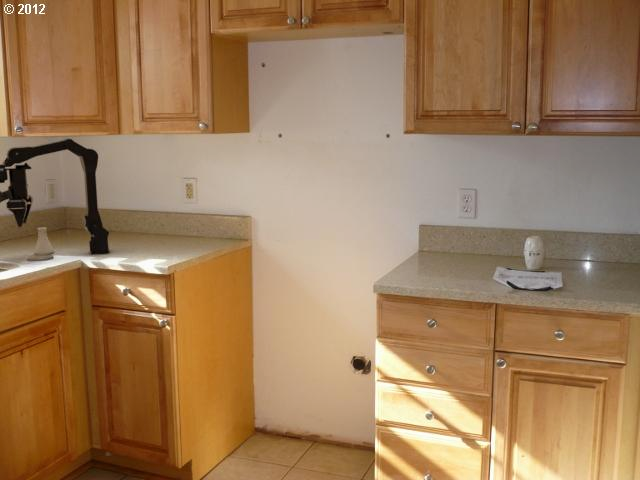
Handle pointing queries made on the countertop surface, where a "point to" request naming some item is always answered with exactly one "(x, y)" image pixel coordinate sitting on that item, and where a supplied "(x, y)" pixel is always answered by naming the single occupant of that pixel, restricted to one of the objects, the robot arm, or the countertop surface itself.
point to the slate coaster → (40, 257)
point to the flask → (43, 243)
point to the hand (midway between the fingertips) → (22, 225)
